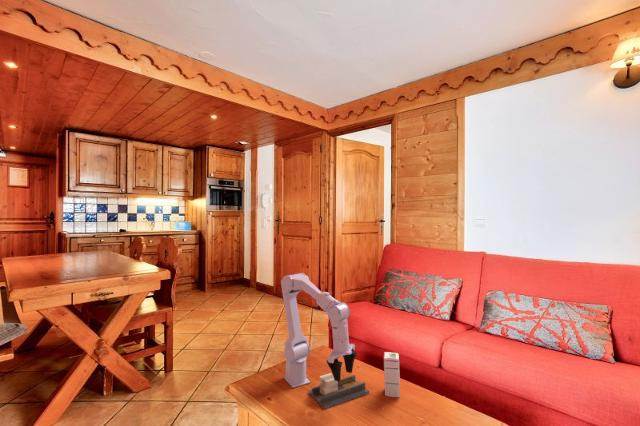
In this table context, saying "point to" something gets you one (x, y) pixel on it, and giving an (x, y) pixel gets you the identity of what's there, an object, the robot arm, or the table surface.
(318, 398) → the chute
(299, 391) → the table surface
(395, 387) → the syrup box
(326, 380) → the block
